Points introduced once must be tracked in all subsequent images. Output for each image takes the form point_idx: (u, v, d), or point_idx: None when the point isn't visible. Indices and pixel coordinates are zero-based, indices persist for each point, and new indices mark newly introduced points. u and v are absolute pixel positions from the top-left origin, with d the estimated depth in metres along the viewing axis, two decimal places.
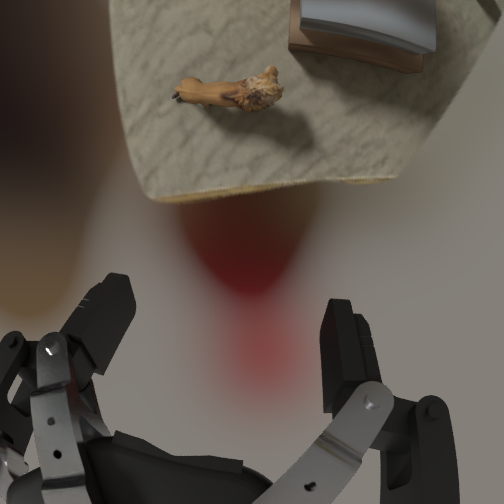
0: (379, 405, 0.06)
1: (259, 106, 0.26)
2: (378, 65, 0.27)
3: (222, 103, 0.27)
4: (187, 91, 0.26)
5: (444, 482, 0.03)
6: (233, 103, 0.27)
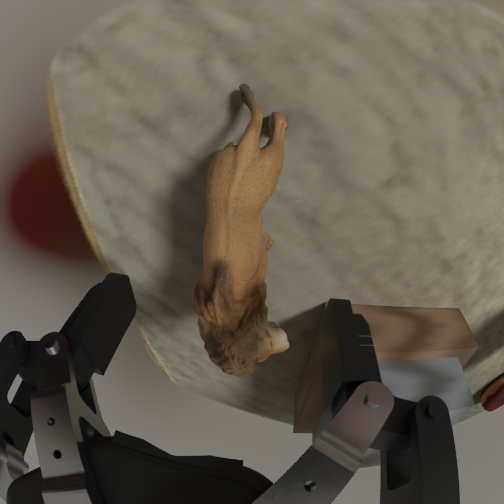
0: (379, 405, 0.06)
1: (201, 336, 0.14)
2: None
3: (204, 255, 0.13)
4: (232, 187, 0.10)
5: (444, 483, 0.03)
6: (206, 281, 0.14)
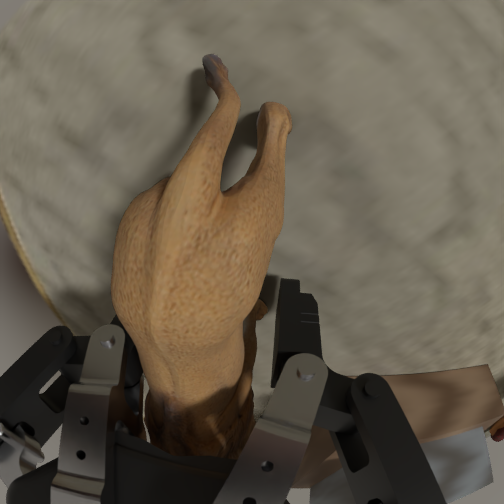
0: (310, 376, 0.07)
1: None
2: None
3: None
4: (151, 310, 0.04)
5: (407, 457, 0.04)
6: (154, 406, 0.07)
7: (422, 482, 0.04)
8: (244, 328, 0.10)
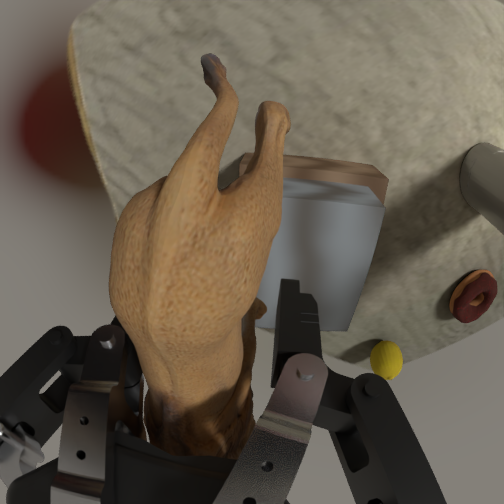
0: (310, 376, 0.07)
1: None
2: None
3: (143, 373, 0.07)
4: (149, 308, 0.04)
5: (407, 457, 0.04)
6: (153, 406, 0.07)
7: (422, 482, 0.04)
8: (243, 327, 0.10)
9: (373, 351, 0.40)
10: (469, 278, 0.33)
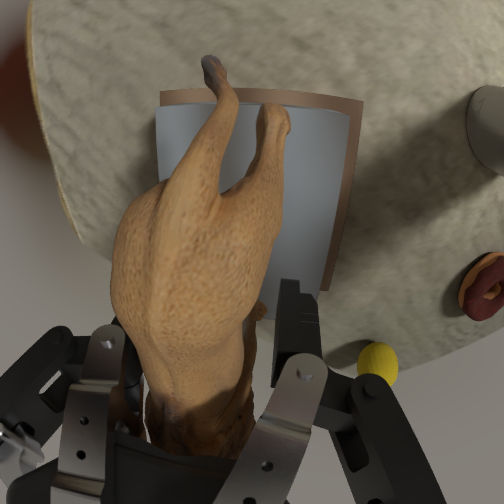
0: (310, 376, 0.07)
1: None
2: None
3: (144, 375, 0.07)
4: (150, 312, 0.04)
5: (407, 456, 0.04)
6: (154, 407, 0.07)
7: (422, 482, 0.04)
8: (244, 329, 0.10)
9: (361, 355, 0.32)
10: (483, 262, 0.24)
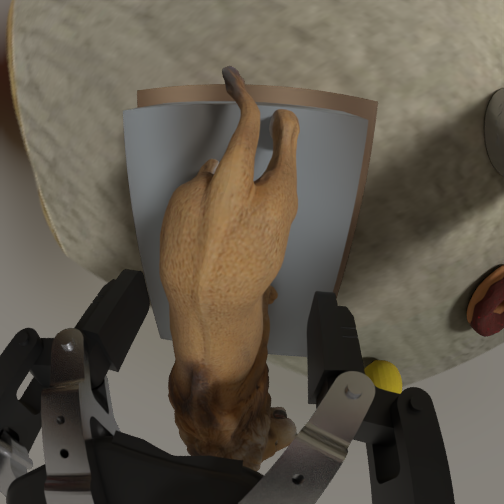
0: (359, 395, 0.06)
1: None
2: None
3: (174, 347, 0.08)
4: (202, 272, 0.05)
5: (434, 473, 0.04)
6: (180, 379, 0.08)
7: (441, 501, 0.03)
8: None
9: None
10: (494, 275, 0.22)
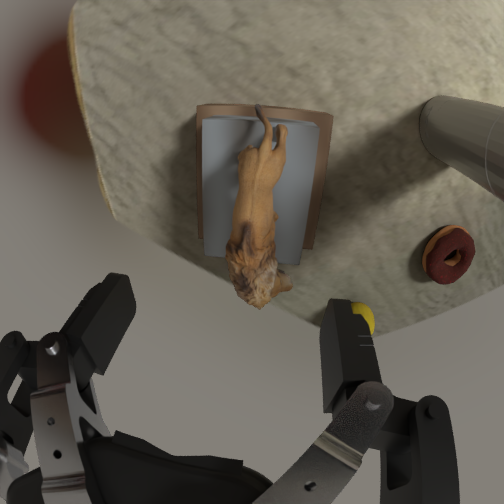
0: (379, 405, 0.06)
1: (231, 278, 0.21)
2: None
3: (235, 219, 0.20)
4: (257, 173, 0.17)
5: (444, 482, 0.03)
6: (236, 237, 0.20)
7: None
8: None
9: None
10: (441, 232, 0.34)
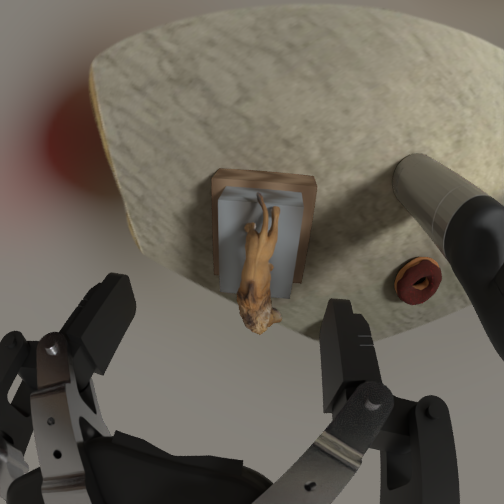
0: (379, 405, 0.06)
1: (241, 315, 0.31)
2: None
3: (243, 278, 0.31)
4: (257, 254, 0.28)
5: (444, 482, 0.03)
6: (244, 289, 0.31)
7: None
8: None
9: None
10: (410, 263, 0.44)
